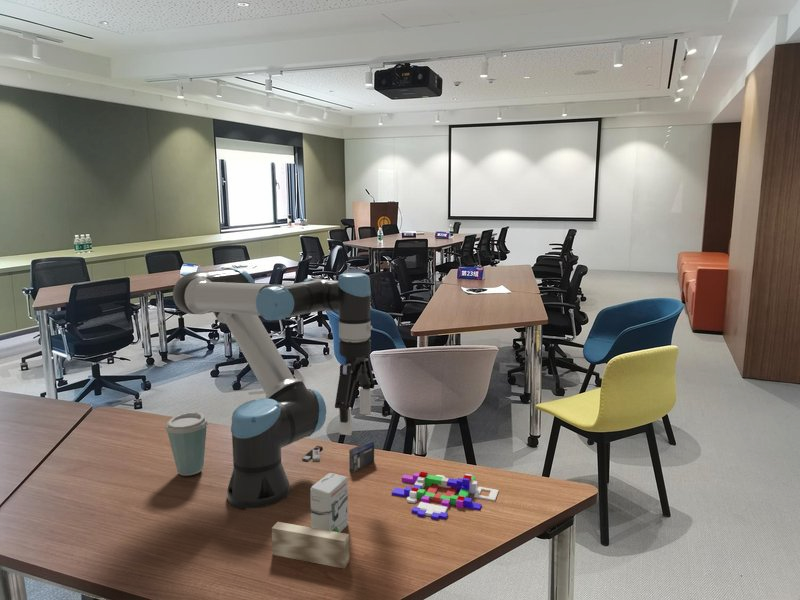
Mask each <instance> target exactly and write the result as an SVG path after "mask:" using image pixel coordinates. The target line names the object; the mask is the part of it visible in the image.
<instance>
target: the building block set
mask: <svg viewBox="0 0 800 600" xmlns="http://www.w3.org/2000/svg"><path fill="white" fill-rule="evenodd" d="M401 482H403V483H409V484H413V487H412V486H405V487H404V488H401V487H394V488H393V490H391V495H392V496H398V497H401V498H402V497H403V498H404V497H406V503H411V504H415V503H417V502H418V499H420V502H419V504H418V505H417V506H413V507H412V509H411V514H412V513H413V514H416V516H418V517H421V518H425V516H427V517H430V519H432V520H439V519H443V520H447V518H448V516H449V513H448V512H447V510H448V509H449V507H450V505H454V506H455V508H459V509H464V508H466V509H470V510H471V509H472V510H475V511H476V510H477V511H480V510H481V508H482V504H483V503H479V502H473V497H474V498H476V499H479V500H480V499H481V500H486V501H491V502H492V501H493V502H496V499H497V496H498V494H499V489H495V488H490V487H484V486H478V484H479V483H478V480H476V476H475V475H473V474H471V473H465V474H464V476H463V478H461V477H458V478H457V479H455V478H453V477H452V478H451V477H450V478H448V477H446V476H445V475H443V474H435V475H433V474H429V473H428V472H426V471H420V472H414V473H413V474H412V475H409V474H403V475H402V476H401ZM426 486H427V487H428V489H427V491H426V489H424V488H425V487H426ZM439 489H445V490H446V493H445V494H439V493H437V492H438V490H439ZM482 491H485V492H486V491H487V492H489V494H488V496H487V495H482V494H481V492H482ZM457 492H459V493H458V495H456V493H457ZM470 494H473V497H469V496H470ZM431 501H432V502H435V503H440V504H439V505H438V504H433V503H430V502H431Z"/></svg>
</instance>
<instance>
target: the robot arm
mask: <svg viewBox="0 0 800 600" xmlns="http://www.w3.org/2000/svg"><path fill="white" fill-rule="evenodd" d="M337 278H338V279H337V280H334V279H328V278H327V279H325V278H321V277H311V278H310V277H309V278H308V277H307V278H305V279H304V280H303V281H301V282H296V283H287V284H268V283H255V281H254V279H253V277H252V276H251V275H250V274H249V272H247V271H246V270H244V269H242V268H238V267H235V268H233V267H225V268H221V269H212V270H202V271H193V272H189V273H187V274H184V275H183V276H182V277H180V278H179V279H178V280H177V281H176V283H175V284H174V287H173V290H172V298H173V302H174V304H175V306H176V307H177V308H178V309H179V310H180V311H181V312H183V313H185V314H189V315H206V314H209V313H212V314H214V316H215V318H216V320H217V321H218V322H219V323H221V324H226V326H227V328H228V329H229V331H230V333H231V335H232V337H233V339H234V340H235V342H236V344H237V346H238V347H239V350H240V351H241V352H242V354H243V356H244V357H245V360H246V361H247V364H248V365H249V367H250V369H251V370H252V372H253V374H254V376H255V377H256V380H257V381H258V383H259V385H260V387H261V388H262V390H263V392H264V394H265V398H259V399H251V400H249V401H246V402H244V403H242V404H240V405H239V406H238V407H236V408H235V410H234V411H233V413H232V415H231V426H230V431H231V438H232V439H231V440H232V441H231V442H232V461H233V462H232V463H233V469H232V473H231V476H230V478H229V482H228V486H227V491H226V496H227V501H228V503H229V504H230V505H231V506H232V507H233V508H237V509H240V510H246V509H258V508H266V507H269V506H272V505H274V504H277V503H279V502H281V501H283V500H286V499H287V498H288V497H289V495H290V482H289V479H288V477H287V474H286V472H285V468H284V466H283V464H282V463H283V462H282V448H285V447H286V446H289V445H291V444H293V443H296V442H297V441H300V440H302V439H305V438H308V437H311V436H312V435H313V434H315V433H317V432H318V431H320V430H321V429H322V428H323V426H324V425H325V422H326V419H327V405H326V402H325V399H324V397H323V396H322V394H321V392H319V391H318V390H315V388H307V386H306V385H305V383H304V382H303V380H301V379H297V378H295V377H294V375H293V374H292V372H291V370H290V369H289V367H288V366H287V365H288V364H287V363H286V362H285V360H284V358H283V357H282V354H281V353H280V352H279V350H278V348H277V346H276V344H275V343H274V341H273V339H272V337H271V336H270V334H269V333H268V331H267V329H266V327H265V325H264V324H263V322H262V320H261V319H260V317H262V318H263V319H264V320H267V321H281V320H284V319H286V318H292V317H296V316H302V315H307V314H312V313H316V312H321V311H327V312H328V311H329V312H335V313H338V338H340V340H339V341H338V343H339V344H338V346H339V347H338V348H339V349H338V351H339V353H338V354H339V355H340V356H341V357H344V358H345V364H340V365H339V376H338V377H339V378H338V384H337V390H336V395H335V396H336V397H335V402H334V403H335V404H334V408H335V409H338V411H339V415H338V416H339V418H338V419H339V421H338V422H339V435H345V436H352V433H353V432H352V431H353V425H352V423H353V422H352V420H353V419H352V417H353V416H352V407H350V406H351V402H352V399H353V394H354V391H355V390H354V389H355V385H356V383H359V385H360V388H359V415H367V416H370V415H371V413H372V407H371V406H372V401H371V400H372V399H371V398H372V396H371V395H372V394H371V393H372V392H371V391H372V390H373V389H375V384H374V382H375V380H374V375H373V370H372V369H373V368H372V365H371V361H370V359H371V358H370V355H371V353H372V340H371V339H370V338H371V337H372V336H371V335H372V334H371V332H372V331H371V330H373V327H374V326H372V325H371V323H372V321H371V298H372V296H371V295H372V289H371V278H370V276H369V275H368V274H366V273H362V272H346V273H341V274H339V275H338V277H337ZM259 316H260V317H259ZM371 389H372V390H371Z"/></svg>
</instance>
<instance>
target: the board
mask: <svg viewBox="0 0 800 600" xmlns="http://www.w3.org/2000/svg"><path fill="white" fill-rule="evenodd" d="M271 548H272V549H271V550H272V551H271V552H272V556H278V557H283V558H287V559H292V560H297V561H304V562H309V563H313V564H318V565H319V564H320V565H324V566H328V567H334V568H339V569H346V568H347V566H348V564H349V563H350V534H349V533H345V532H340V533H339V532H333V531H328V530H322V529H316V528H311V526H310V527H309V526H305V525H298V524H294V523H293V524H292V523H288V522H287V523H286V522H282V521H277V522H276V523H275V524H274V525H273V526H272V527H271Z"/></svg>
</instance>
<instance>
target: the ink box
mask: <svg viewBox="0 0 800 600" xmlns="http://www.w3.org/2000/svg"><path fill="white" fill-rule="evenodd" d="M348 478H349V477H348V476H345V475H341V474H337V473H332V472H329V473H327V474H326V475H324V476H323V477H322V478H321V479H320V480H318V481H316V482H315V483H314V484H313V485H312V486H311V487H310V489H309V490H310V495H309V496H310V527H311V528H316V529H322V530H328V531H333V532H339V533H342V532H343V530H344V529H345V528H346V527H347V526H349V499H348V498H349V491H348V490H349V489H348V488H349V487H348V486H349V485H348V481H349V480H348Z"/></svg>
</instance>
